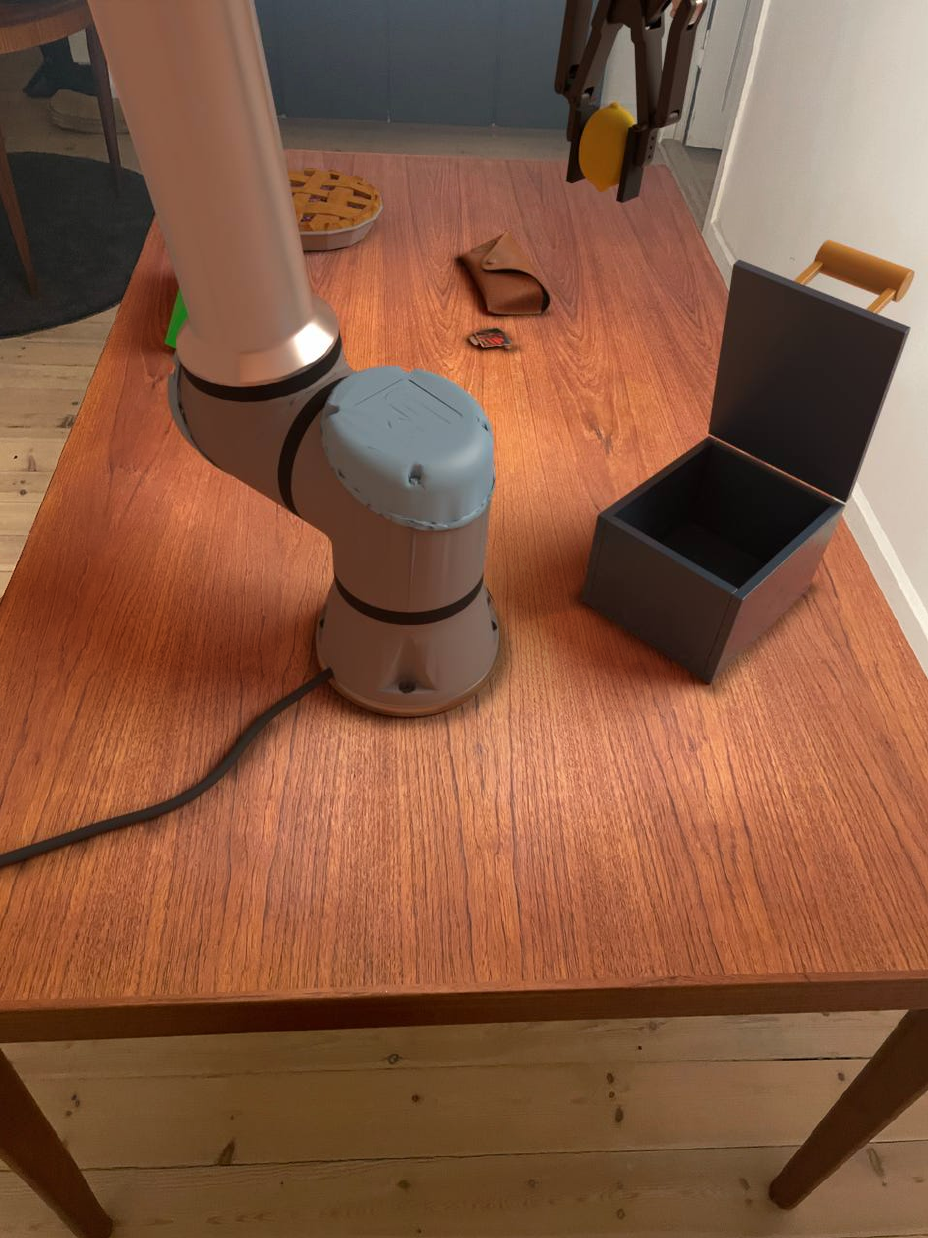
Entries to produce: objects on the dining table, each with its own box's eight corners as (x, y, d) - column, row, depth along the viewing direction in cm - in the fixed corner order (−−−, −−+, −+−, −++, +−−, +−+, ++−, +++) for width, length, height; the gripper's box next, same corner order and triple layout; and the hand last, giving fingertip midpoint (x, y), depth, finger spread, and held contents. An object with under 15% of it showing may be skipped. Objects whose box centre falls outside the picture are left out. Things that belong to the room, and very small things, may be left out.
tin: (710, 685, 75) (742, 600, 68) (580, 600, 82) (597, 514, 75) (808, 588, 84) (846, 504, 77) (684, 518, 91) (709, 435, 83)
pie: (376, 260, 127) (375, 224, 123) (218, 251, 126) (213, 214, 123) (389, 199, 142) (389, 165, 138) (249, 190, 141) (245, 156, 138)
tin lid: (905, 333, 62) (967, 268, 65) (732, 264, 69) (796, 207, 72) (845, 503, 77) (898, 443, 80) (707, 433, 83) (761, 380, 86)
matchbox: (495, 327, 115) (495, 324, 115) (518, 346, 112) (518, 342, 112) (464, 336, 113) (464, 332, 113) (486, 355, 110) (486, 351, 110)
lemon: (588, 177, 92) (600, 89, 87) (637, 190, 91) (654, 101, 85) (563, 193, 89) (575, 102, 83) (615, 207, 87) (631, 116, 81)
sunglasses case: (453, 253, 129) (479, 210, 125) (492, 274, 133) (518, 234, 129) (488, 314, 117) (518, 269, 113) (530, 336, 121) (560, 293, 117)
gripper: (774, -95, 71) (701, 208, 87) (587, -130, 79) (553, 153, 96) (723, -88, 67) (657, 228, 83) (532, -126, 75) (506, 169, 92)
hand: (601, 188), depth 90 cm, fingers closed on lemon, 5 cm apart
